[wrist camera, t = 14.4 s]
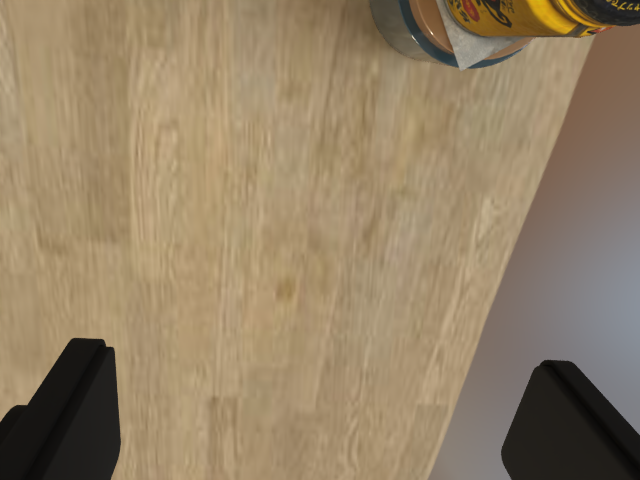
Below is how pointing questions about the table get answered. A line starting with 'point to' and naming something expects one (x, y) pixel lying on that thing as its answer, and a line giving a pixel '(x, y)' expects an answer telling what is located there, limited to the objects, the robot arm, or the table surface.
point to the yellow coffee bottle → (526, 22)
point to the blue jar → (426, 32)
